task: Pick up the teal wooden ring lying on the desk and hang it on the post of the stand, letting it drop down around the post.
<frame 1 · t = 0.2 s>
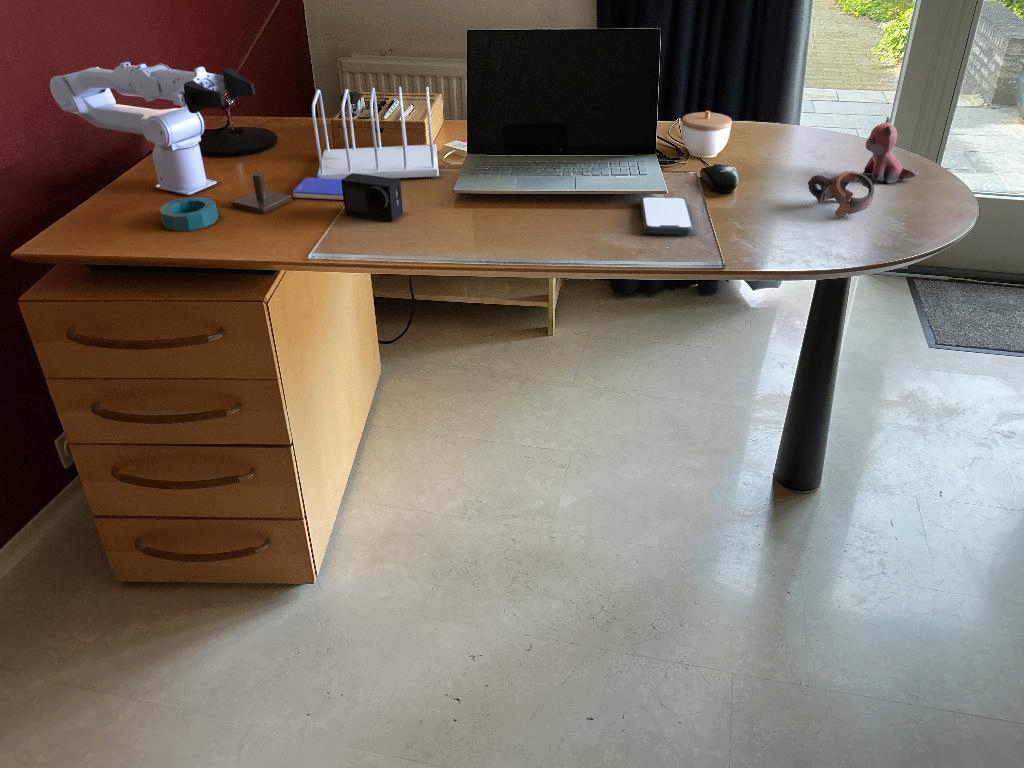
hand: (238, 94, 157), 21 cm above the table, tool horizontal, fingers open, 7 cm apart
stuffed fox: (887, 181, 177), on the table
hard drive: (330, 193, 174), on the table
file sorter: (380, 168, 186), on the table
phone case: (665, 220, 160), on the table
brown curved piece: (836, 209, 164), on the table
stand: (262, 203, 169), on the table
digital camera: (372, 216, 163), on the table
trinket box: (702, 154, 192), on the table
ring: (190, 220, 162), on the table
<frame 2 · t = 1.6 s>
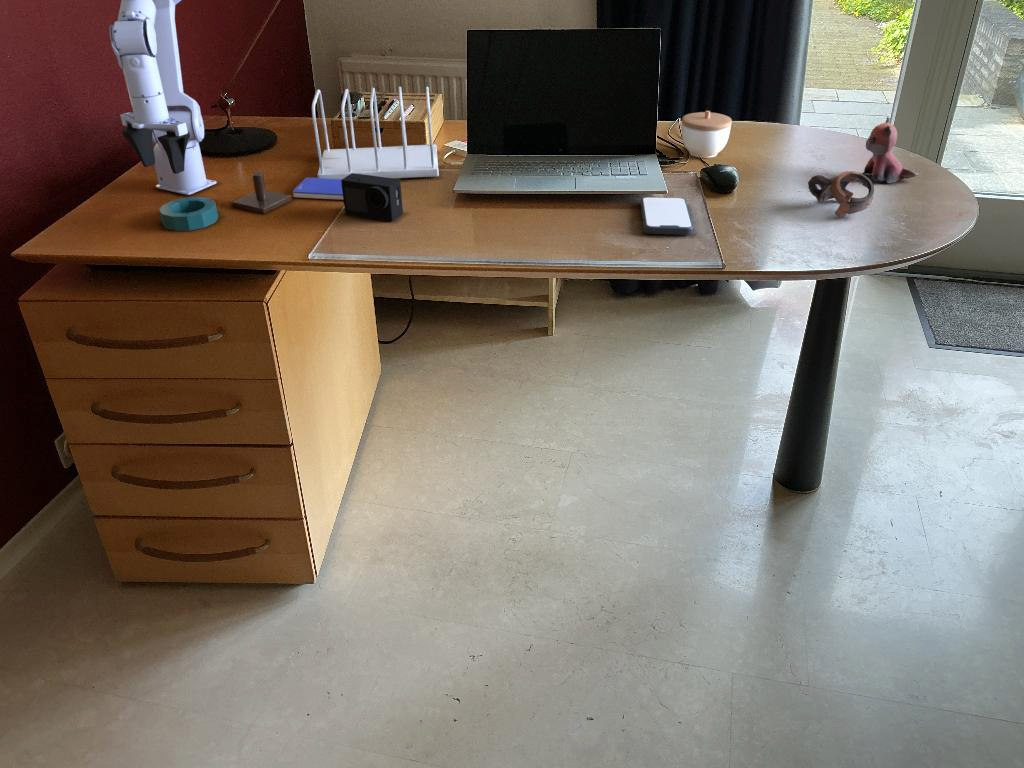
hand: (164, 168, 158), 9 cm above the table, tool pointing down, fingers open, 7 cm apart
nothing on the table moved.
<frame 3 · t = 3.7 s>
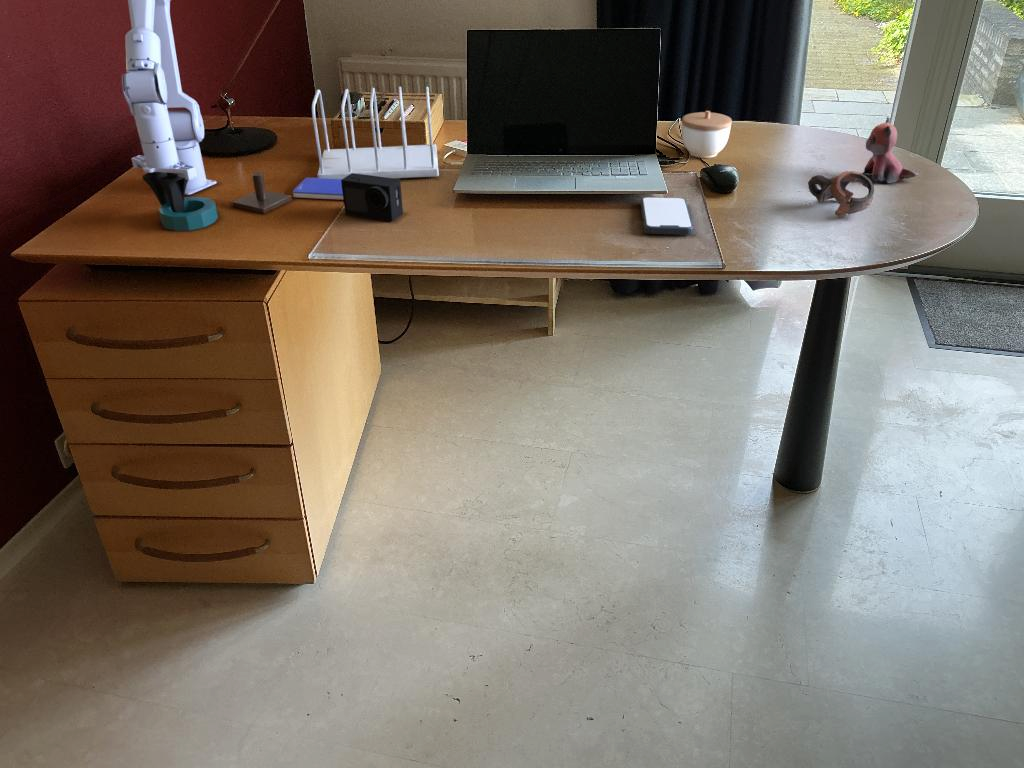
hand: (173, 209, 163), 1 cm above the table, tool pointing down, fingers closed on ring, 2 cm apart
ring: (190, 220, 162), on the table, touching gripper
everything else where it was.
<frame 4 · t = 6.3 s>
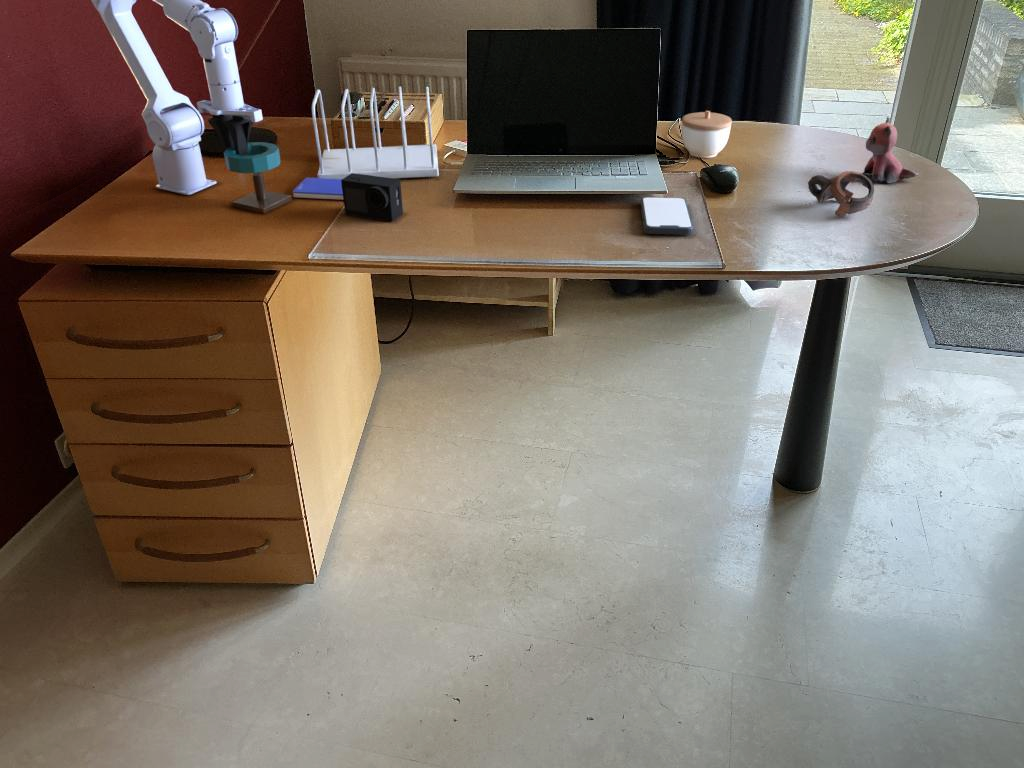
hand: (237, 154, 165), 9 cm above the table, tool pointing down, fingers closed on ring
ring: (253, 164, 165), point 8 cm above the table, touching gripper
everything else where it was.
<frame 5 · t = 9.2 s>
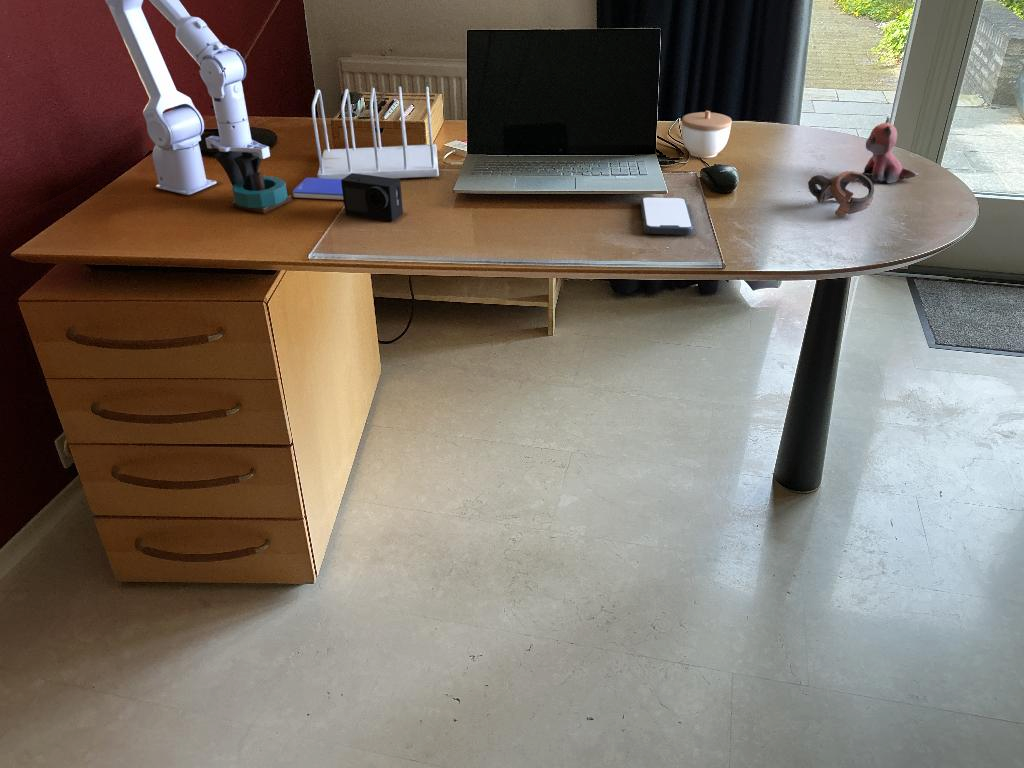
hand: (245, 188, 169), 2 cm above the table, tool pointing down, fingers open, 3 cm apart
ring: (261, 198, 169), point 1 cm above the table, touching stand
everything else where it was.
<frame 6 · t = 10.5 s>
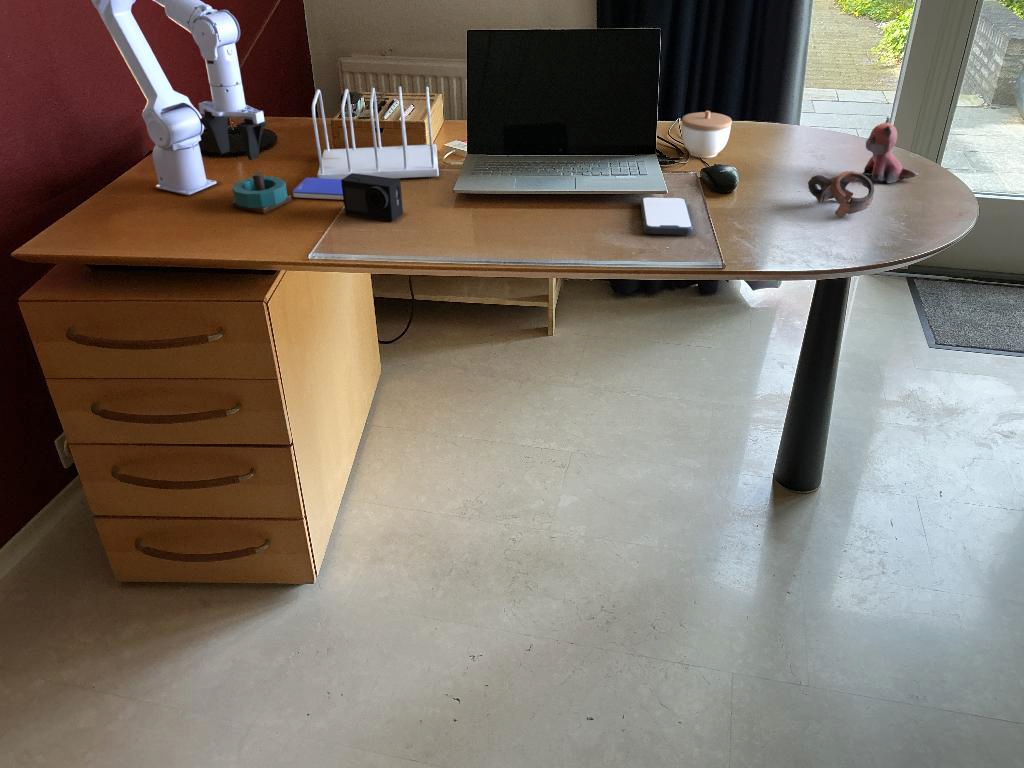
hand: (239, 155, 166), 9 cm above the table, tool pointing down, fingers open, 7 cm apart
nothing on the table moved.
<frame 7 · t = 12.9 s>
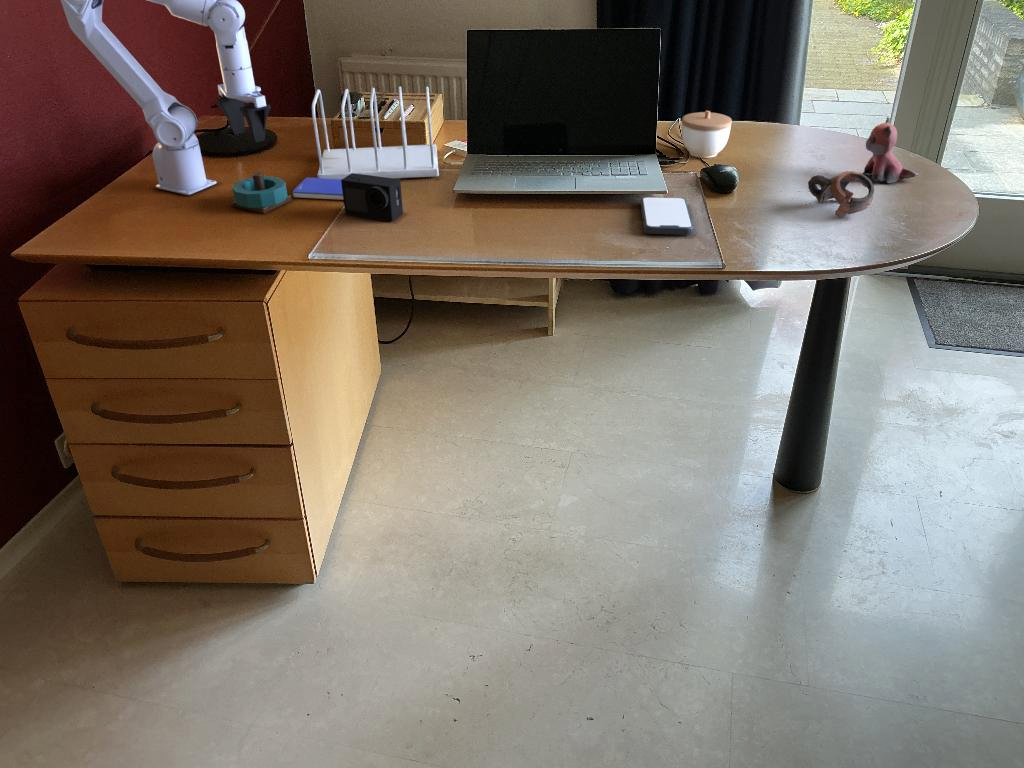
hand: (249, 137, 173), 10 cm above the table, tool pointing down, fingers open, 7 cm apart
nothing on the table moved.
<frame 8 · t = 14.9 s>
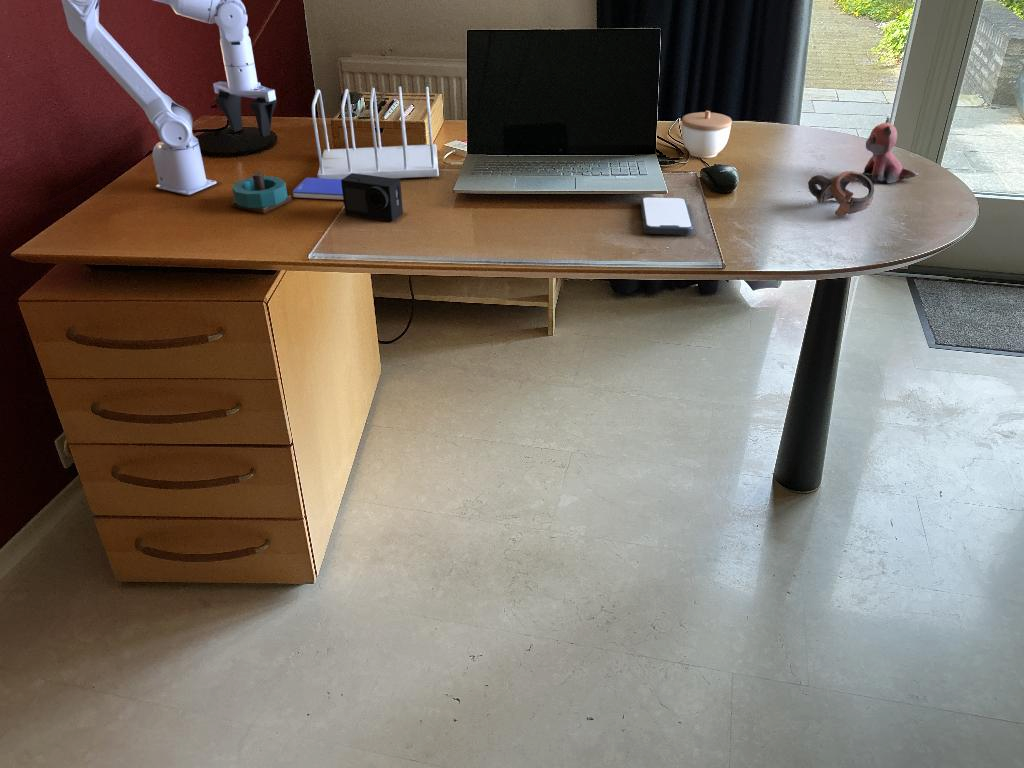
hand: (251, 132, 175), 10 cm above the table, tool pointing down, fingers open, 7 cm apart
nothing on the table moved.
at the end: ring 0.1 cm from the stand (horizontally); ring point 1.0 cm above the table; the gripper is holding nothing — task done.
